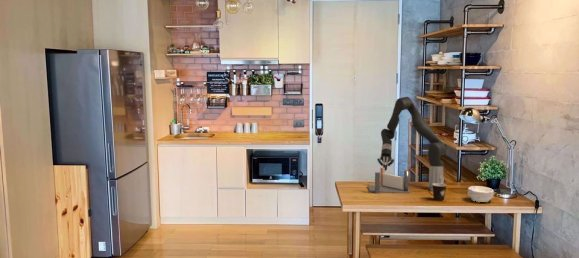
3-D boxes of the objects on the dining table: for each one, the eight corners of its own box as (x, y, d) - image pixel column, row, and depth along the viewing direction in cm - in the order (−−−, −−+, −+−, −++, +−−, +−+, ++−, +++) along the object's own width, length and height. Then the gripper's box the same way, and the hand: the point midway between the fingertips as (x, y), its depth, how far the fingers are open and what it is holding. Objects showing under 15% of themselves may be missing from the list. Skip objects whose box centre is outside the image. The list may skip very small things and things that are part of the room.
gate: (404, 189, 317) (404, 171, 315) (402, 189, 315) (402, 171, 313) (382, 184, 330) (382, 167, 329) (380, 184, 329) (380, 167, 327)
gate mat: (405, 187, 328) (405, 185, 328) (410, 193, 312) (410, 191, 311) (367, 186, 330) (367, 185, 330) (370, 192, 313) (370, 191, 313)
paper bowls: (496, 204, 284) (496, 192, 283) (470, 203, 286) (470, 191, 286) (489, 198, 299) (490, 186, 298) (465, 197, 301) (465, 185, 300)
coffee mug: (444, 198, 299) (444, 183, 297) (447, 201, 290) (447, 186, 289) (425, 197, 300) (426, 182, 299) (428, 201, 291) (429, 186, 290)
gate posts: (407, 191, 316) (407, 170, 314) (408, 192, 313) (409, 171, 311) (374, 192, 314) (374, 170, 312) (375, 193, 311) (375, 171, 309)
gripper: (377, 147, 346) (375, 166, 336) (395, 148, 343) (394, 167, 333) (377, 153, 352) (376, 172, 342) (395, 154, 349) (394, 173, 338)
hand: (384, 170), depth 337 cm, fingers closed
